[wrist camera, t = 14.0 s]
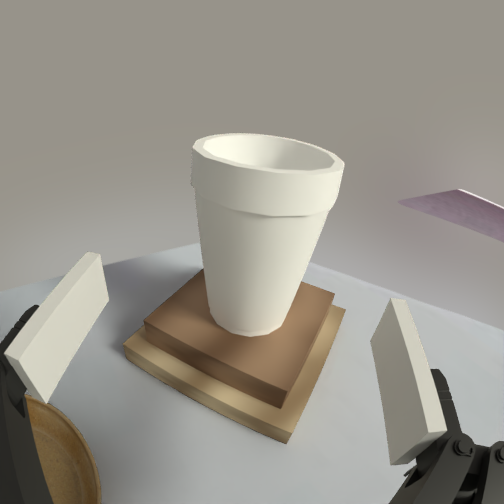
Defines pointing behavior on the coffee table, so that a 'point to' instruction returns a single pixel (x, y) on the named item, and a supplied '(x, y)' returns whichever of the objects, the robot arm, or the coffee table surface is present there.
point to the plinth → (230, 396)
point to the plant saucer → (63, 456)
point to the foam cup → (259, 222)
